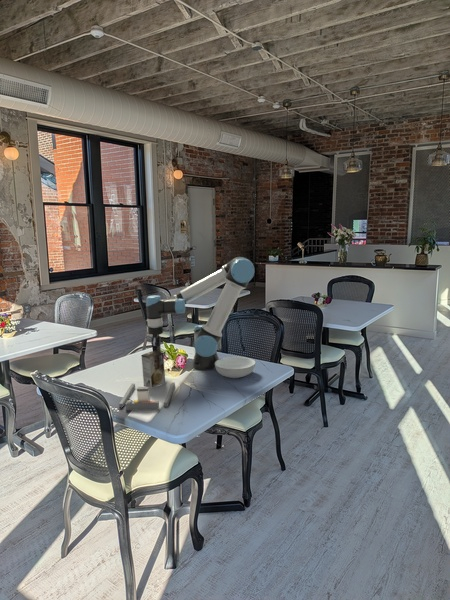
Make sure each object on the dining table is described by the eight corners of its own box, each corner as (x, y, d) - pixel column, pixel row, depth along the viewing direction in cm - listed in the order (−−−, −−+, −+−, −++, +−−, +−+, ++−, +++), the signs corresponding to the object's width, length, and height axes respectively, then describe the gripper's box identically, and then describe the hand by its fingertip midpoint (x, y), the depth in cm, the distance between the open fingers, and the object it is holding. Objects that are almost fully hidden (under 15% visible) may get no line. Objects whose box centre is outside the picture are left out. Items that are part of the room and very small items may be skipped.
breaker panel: (174, 386, 214) (174, 378, 213) (166, 409, 188) (165, 400, 187) (132, 387, 214) (131, 380, 214) (117, 410, 188) (117, 402, 188)
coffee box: (157, 380, 222) (155, 350, 220) (165, 383, 218) (163, 352, 216) (143, 386, 216) (140, 354, 213) (151, 389, 211) (149, 356, 209)
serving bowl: (262, 378, 221) (262, 364, 220) (224, 385, 213) (223, 371, 212) (245, 366, 240) (245, 354, 239) (209, 372, 232) (209, 359, 231)
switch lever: (150, 403, 194) (149, 386, 193) (148, 406, 190) (147, 389, 189) (139, 403, 194) (138, 386, 193) (137, 407, 190) (136, 389, 189)
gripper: (150, 323, 230) (153, 366, 234) (145, 329, 217) (148, 374, 221) (164, 322, 230) (167, 365, 234) (160, 328, 217) (163, 374, 221)
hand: (158, 370), depth 228 cm, fingers closed
